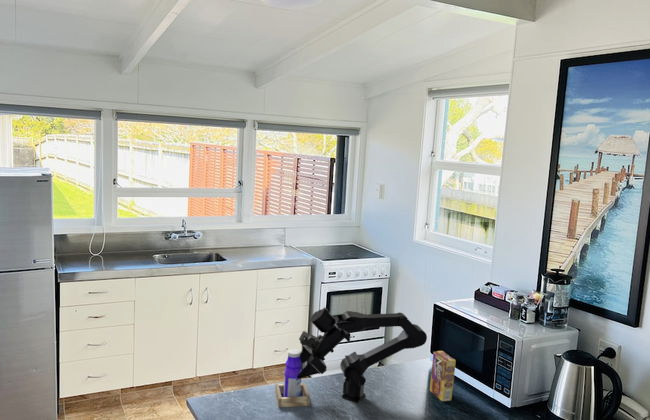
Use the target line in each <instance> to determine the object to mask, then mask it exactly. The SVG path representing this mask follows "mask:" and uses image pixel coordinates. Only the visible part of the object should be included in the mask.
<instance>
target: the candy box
mask: <svg viewBox="0 0 650 420" xmlns="http://www.w3.org/2000/svg"><path fill="white" fill-rule="evenodd" d="M456 361H457V360H456V359H455V358H453V357H452V356H450V355H449V354H447V353H446V352H445V351H443V350H437V351H433V355H432V364H431V365H432V366H431V372H430V373H431V375H430V385H429V391H430V392H431V393H432V395H434V396H436V398H438V400H440V401H441V402H449V401H452V398H453V388H454V381H455V373H456V372H455V370H456Z"/></svg>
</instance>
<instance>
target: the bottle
mask: <svg viewBox="0 0 650 420" xmlns="http://www.w3.org/2000/svg"><path fill="white" fill-rule="evenodd" d="M287 353H288V354H287V358H286V359H287V360H286V361H285V369H284V378H283V379H284V380H283V381H284V382H283V384H284V393H283V397H302V396H301V395H302V393H301V383H302V378H300V379H299V378H298V377H297V376H298V374H299V373H300V372H301V371H302V370H303V368H302V365H303V364H302V362H301V360H300V353H301V350H299V349H289V350H288V352H287Z"/></svg>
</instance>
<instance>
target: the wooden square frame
mask: <svg viewBox="0 0 650 420" xmlns="http://www.w3.org/2000/svg"><path fill="white" fill-rule="evenodd" d="M308 390H309V389H308V388H307V385H306V382H301V394H302V395H303V396H300V397H284V396H283V397H282V394H284V383H276V384H275V386H274V393H275V399H276V402H277V403H276V404H277V407H278V408H291V407H292V408H293V407H310V404H311V397H310V393H309V391H308Z"/></svg>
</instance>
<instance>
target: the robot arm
mask: <svg viewBox="0 0 650 420" xmlns="http://www.w3.org/2000/svg"><path fill="white" fill-rule="evenodd" d="M309 321H310V322H311V324H312V325H313V326H314V327H315V328H317V330H319V332H320V333H324V334H323V335H322V334H319V335H317V336H315V335H314V334H311V333H309V332H307V331H305V330H304V331H302V333H301V335H300V337H299V338H298V340H299V343H300V344H301V350H300V360H301V362H302V365H303V364H304V363H306V365H305V366H304V367H303V368H302V371H301V372H300V373H299V374H298V376H297V377H298V378H299V379H300V378H301V379H304V378H306V377H310V376H314V375H318V374H319V375H320V374H321V375H323V374H324V373H326V371H327V367H328V366H327V365H326V362H325V360H326V358H325V357H326V356H327V355H328V354H329V353H332V354H333V353H334V352H335V351H334V348H336V347H337V346H338V345H339V344H340V343H342V341H343V340H344V339H345V340H346V341H347V342H348V343H350V342H351V333H352V334H353V333H357V332H362V331H364V330H366V329H370V328H390V327H401V328H402V329H403V330H402V331H401V332H400V333H399V334H398V335H397V336H396V337H395V338H393V339H391V340H388V341H387V342H384V343H382V344H381V345H378V346H376V347H374V348H372V349H371V350H369V351H367V352H364V353H361V354H357V351H353V352H352V353H350V354H348V355H344V358H342V359H341V361H340V364H339V366H340V370H341V372H342V374H343V376H344V377H345V379H344V382H343V385H342V395H341V398H344V399H346V400H350V401H353V402H356V403H359V402H360V401H361V400H362V399H363V398H364V397H365V396H366V393H365V391H364V390H365V383H366V381H367V379H366V377H365V375H364V373H365V372H366V371H367V370H368V368H369V367H371V366H373V365H375V364H377V363H379V362H381V361H383V360H385V359H387V358H389V357H392V356H393V355H395V354H397V353H399V352H401V351H403V350H406V349H407V350H408V349H416V348H418V347H422V346H423V345H425V344H426V342H427V340H428V336H427V333H426V332H425V331H424V330H423V329H422V328H421V327H420V326H419V325H418V324H414V323H412V322H411V320H409V319H408V317H407V316H406V315H405V314H404V313H403V312H395V313H375V314H374V313H372V314H370V313H369V314H366V313H362V312H358V311H353V310H347V311H346V310H345V311H344V312H343V313H339V314H333V315H332V314H331V313H330V311H329V310H328V308H326V306H325V307H323V308H321V309H319V310H317V311H315V312H314V313H313V314H312V315H311V317H310V319H309Z"/></svg>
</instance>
